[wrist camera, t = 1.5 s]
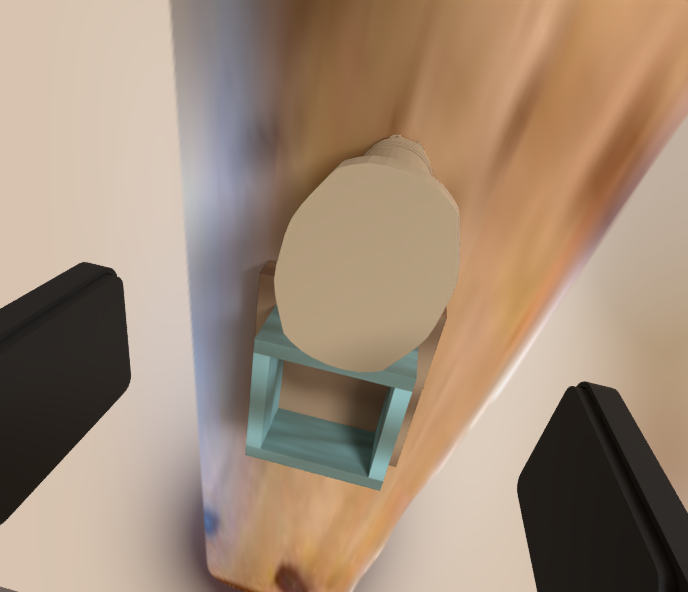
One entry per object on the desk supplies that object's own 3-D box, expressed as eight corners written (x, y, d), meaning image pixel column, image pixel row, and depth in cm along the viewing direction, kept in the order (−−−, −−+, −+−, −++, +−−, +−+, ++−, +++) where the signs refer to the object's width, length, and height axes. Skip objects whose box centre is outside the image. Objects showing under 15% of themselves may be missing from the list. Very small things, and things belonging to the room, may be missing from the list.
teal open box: (269, 260, 30) (235, 304, 25) (446, 301, 29) (448, 356, 24) (256, 410, 37) (227, 469, 32) (397, 446, 36) (391, 513, 31)
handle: (341, 199, 27) (255, 337, 14) (379, 89, 24) (313, 135, 11) (415, 228, 27) (399, 391, 14) (463, 122, 24) (499, 207, 11)
